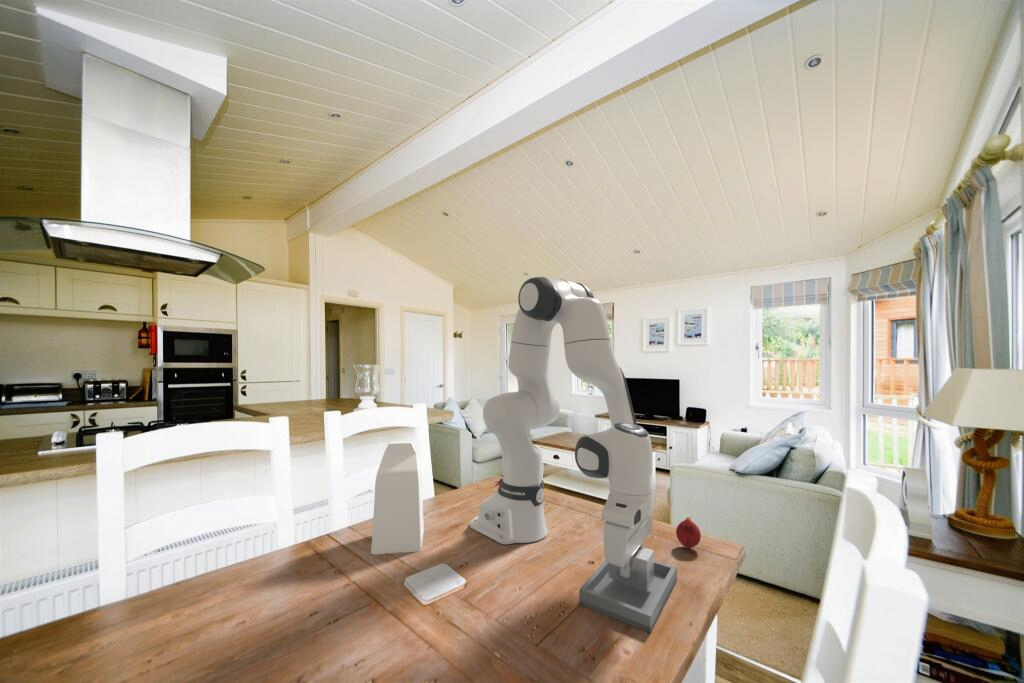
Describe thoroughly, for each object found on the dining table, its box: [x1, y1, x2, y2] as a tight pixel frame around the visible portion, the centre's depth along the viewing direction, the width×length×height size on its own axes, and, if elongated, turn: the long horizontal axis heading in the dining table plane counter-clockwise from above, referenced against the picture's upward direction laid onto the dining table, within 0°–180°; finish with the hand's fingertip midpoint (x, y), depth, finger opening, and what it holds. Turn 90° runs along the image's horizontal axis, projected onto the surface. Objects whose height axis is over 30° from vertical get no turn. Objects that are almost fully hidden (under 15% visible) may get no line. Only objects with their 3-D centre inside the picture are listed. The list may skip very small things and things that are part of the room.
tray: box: [578, 559, 678, 634], centre depth 84 cm, size 14×20×3 cm
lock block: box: [609, 547, 655, 591], centre depth 84 cm, size 8×5×6 cm, turn 55°
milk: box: [370, 441, 425, 555], centre depth 105 cm, size 12×12×26 cm
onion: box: [675, 516, 702, 550], centre depth 102 cm, size 6×6×8 cm
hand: (630, 568), depth 84 cm, fingers closed on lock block, 5 cm apart
